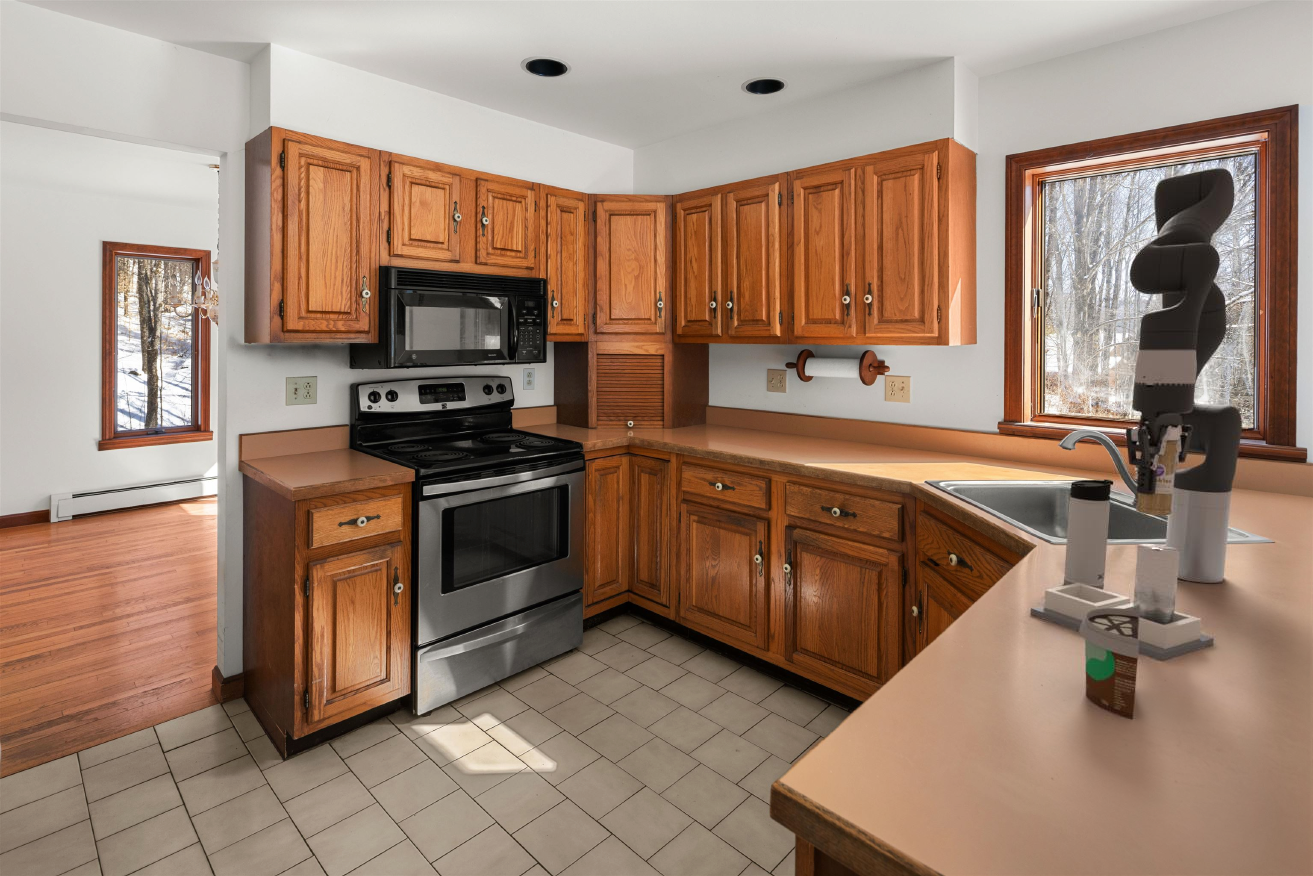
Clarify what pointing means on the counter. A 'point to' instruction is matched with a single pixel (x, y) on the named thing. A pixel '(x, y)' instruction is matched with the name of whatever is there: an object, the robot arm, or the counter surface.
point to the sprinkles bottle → (1162, 480)
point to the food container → (1111, 658)
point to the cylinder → (1156, 582)
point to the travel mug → (1087, 532)
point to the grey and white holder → (1153, 637)
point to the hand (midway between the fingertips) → (1154, 491)
